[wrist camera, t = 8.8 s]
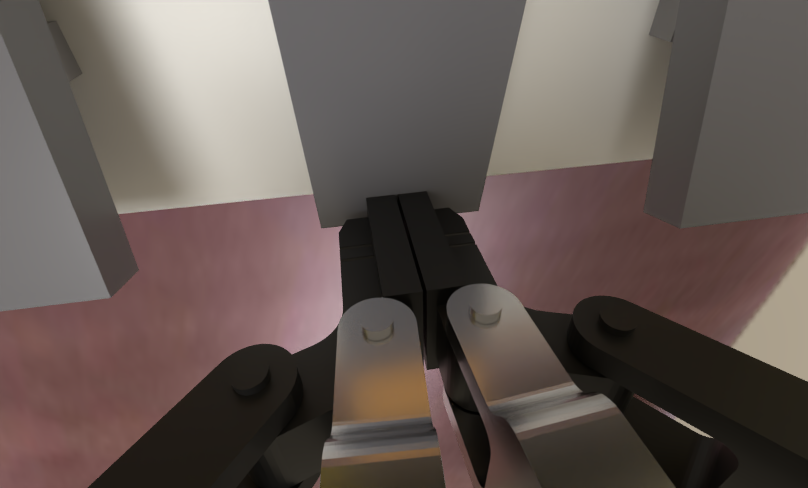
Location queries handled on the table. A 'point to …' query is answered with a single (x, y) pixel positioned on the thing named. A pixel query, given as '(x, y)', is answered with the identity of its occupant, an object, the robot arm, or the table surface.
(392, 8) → the switch middle
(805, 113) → the switch right
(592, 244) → the table surface
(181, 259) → the table surface
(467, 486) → the table surface
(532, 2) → the switch box
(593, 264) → the table surface
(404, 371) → the robot arm
